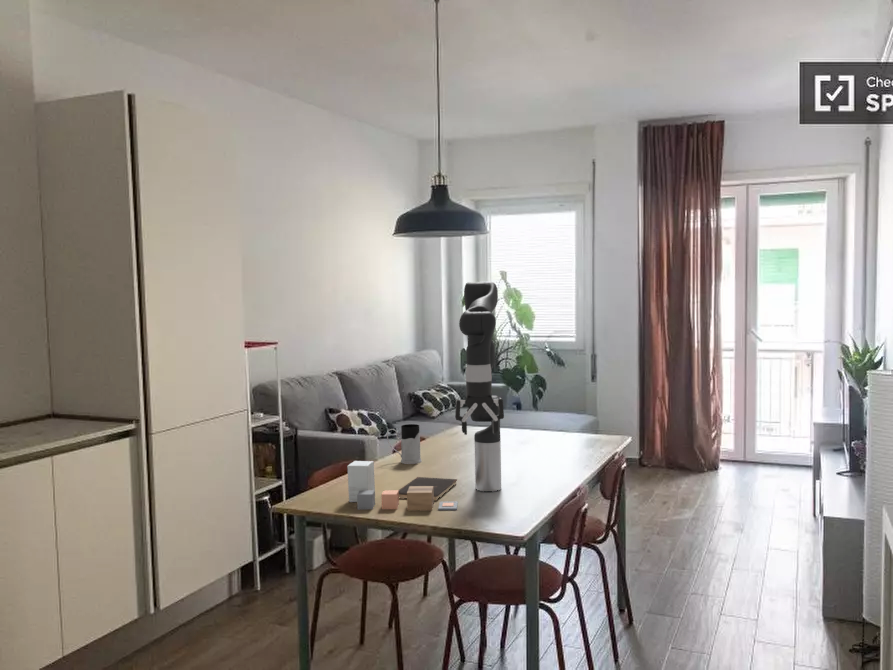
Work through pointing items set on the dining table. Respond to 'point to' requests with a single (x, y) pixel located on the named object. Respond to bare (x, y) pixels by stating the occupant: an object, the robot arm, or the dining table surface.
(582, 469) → the dining table surface
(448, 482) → the hardcover book
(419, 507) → the walnut base block
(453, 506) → the card
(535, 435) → the dining table surface
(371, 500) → the grey cube
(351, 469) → the supplement box
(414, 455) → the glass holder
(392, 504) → the terracotta block
